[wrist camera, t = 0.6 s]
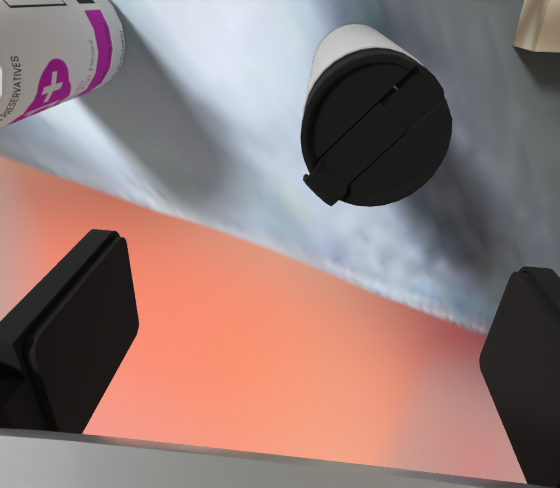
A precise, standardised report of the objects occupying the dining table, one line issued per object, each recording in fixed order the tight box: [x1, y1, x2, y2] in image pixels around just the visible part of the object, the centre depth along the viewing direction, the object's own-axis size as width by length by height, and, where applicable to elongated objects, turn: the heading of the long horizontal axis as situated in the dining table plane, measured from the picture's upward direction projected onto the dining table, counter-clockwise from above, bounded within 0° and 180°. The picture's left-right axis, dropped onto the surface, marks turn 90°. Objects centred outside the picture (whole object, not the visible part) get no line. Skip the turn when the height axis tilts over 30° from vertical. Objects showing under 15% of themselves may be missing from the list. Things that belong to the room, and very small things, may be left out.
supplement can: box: [0, 0, 125, 127], centre depth 29 cm, size 8×8×15 cm
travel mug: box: [301, 24, 452, 207], centre depth 26 cm, size 6×7×20 cm
